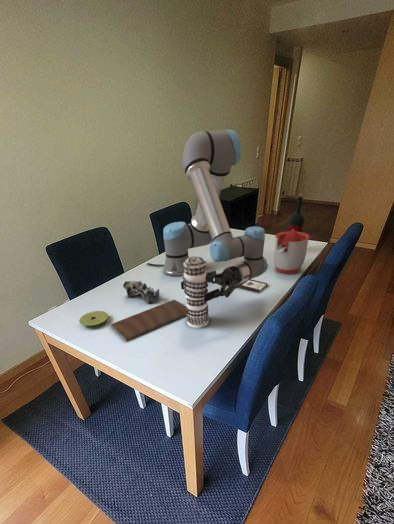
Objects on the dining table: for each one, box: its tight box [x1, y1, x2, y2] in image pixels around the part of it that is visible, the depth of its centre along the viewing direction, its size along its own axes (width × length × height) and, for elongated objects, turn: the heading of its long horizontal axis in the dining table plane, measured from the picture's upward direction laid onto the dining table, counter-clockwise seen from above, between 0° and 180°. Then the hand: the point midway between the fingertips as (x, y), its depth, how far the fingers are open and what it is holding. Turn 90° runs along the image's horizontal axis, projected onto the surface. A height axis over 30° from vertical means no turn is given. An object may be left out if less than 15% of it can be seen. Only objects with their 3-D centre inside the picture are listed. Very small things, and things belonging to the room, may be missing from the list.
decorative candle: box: [181, 256, 210, 328], centre depth 106 cm, size 9×9×25 cm
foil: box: [122, 280, 160, 304], centre depth 131 cm, size 12×11×15 cm
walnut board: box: [110, 299, 187, 342], centre depth 116 cm, size 30×13×1 cm, turn 128°
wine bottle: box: [287, 193, 305, 232], centre depth 161 cm, size 8×10×30 cm
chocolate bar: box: [237, 279, 268, 293], centre depth 138 cm, size 9×1×18 cm
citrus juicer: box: [273, 229, 311, 275], centre depth 143 cm, size 16×17×20 cm
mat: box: [78, 310, 109, 327], centre depth 117 cm, size 11×11×2 cm
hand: (192, 291), depth 105 cm, fingers open, 13 cm apart
